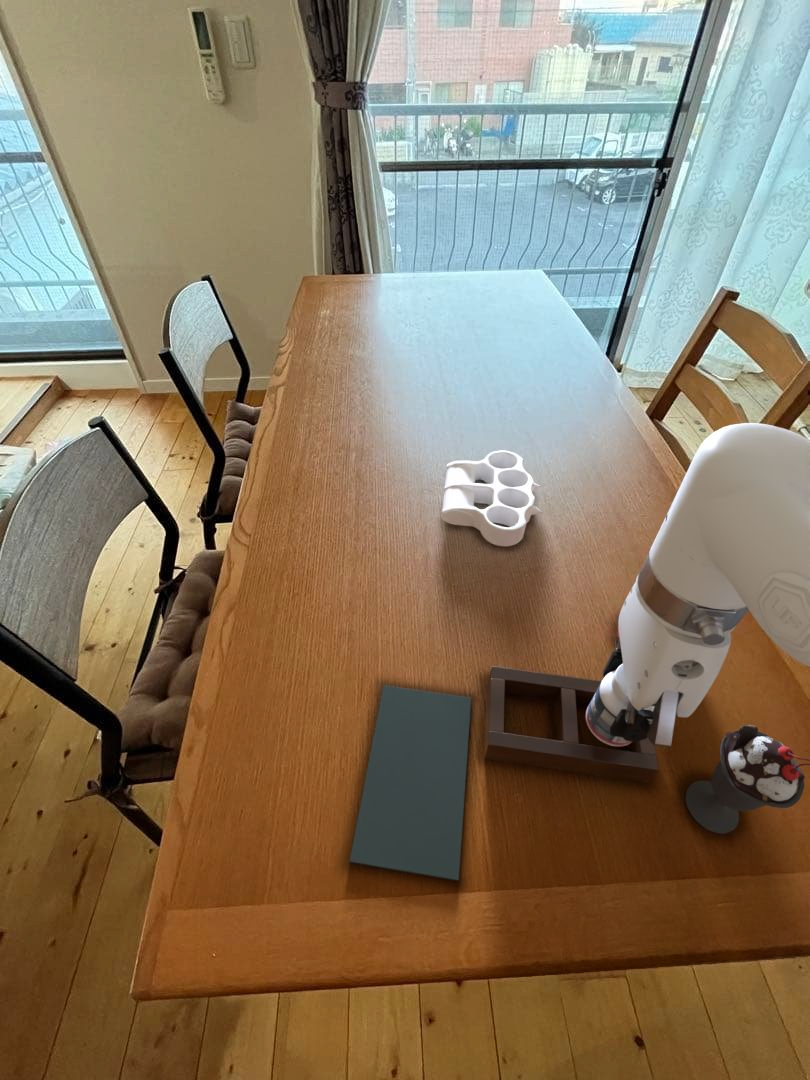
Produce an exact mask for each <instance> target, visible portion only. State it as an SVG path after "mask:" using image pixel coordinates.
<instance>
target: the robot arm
mask: <svg viewBox="0 0 810 1080" xmlns="http://www.w3.org/2000/svg"><path fill="white" fill-rule="evenodd" d="M748 611H749V612H750V614H751V615H752V617H753V618H754V620H755V621H756V623H757V624H758V626H759V627H760V628H761V629H762V631H763V632H764V633H765V634H766V636H767V637H768V638H769V639H770V640H771V641H772V642H773V643H774V644H775V645H776V646H777V647H778V648H779V649H780V650H782V651H783V652H784V653H785V654H787V655H788V657H790V658H792V660H795V661H796V662H798V663H800V664H801V665H804V666H807V667H808V668H810V439H809V438H806V437H805V436H803V435H801V434H798V433H796V432H794V431H792V430H789V429H786V428H784V427H779V426H775V425H771V424H767V423H766V424H765V423H761V422H759V423H758V422H757V423H756V422H743V423H735V424H730V425H726V426H723V427H721V428H719V429H718V430H715V431H713V432H712V433H711V434H710V435H708V436H707V438H705V439H704V440H703V441H702V443H701V444H700V446H699V447H698V449H697V451H696V453H695V454H694V456H693V458H692V459H691V463H690V465H689V467H688V469H687V471H686V472H685V475H684V477H683V479H682V481H681V484H680V486H679V488H678V490H677V492H676V493H675V496H674V498H673V500H672V503H671V504H670V507H669V509H668V511H667V513H666V515H665V517H664V519H663V522H662V523H661V526H660V528H659V530H658V531H657V534H656V536H655V538H654V540H653V542H652V544H651V546H650V548H649V551H648V553H647V555H646V557H645V559H644V561H643V563H642V565H641V568H640V570H639V573H638V574H637V576H636V579H635V582H634V584H633V586H632V587H631V589H630V591H629V593H628V594H627V596H626V598H625V600H624V602H623V605H622V607H621V609H620V613H619V616H618V623H617V624H618V626H617V628H619V637H618V636H617V638H616V639H615V641H614V649H615V650H612V652H611V654H610V656H609V658H608V660H607V662H606V664H605V666H604V668H603V670H602V675H603V678H604V677H605V676H606V675H607V674H609V673H610V672H612V671H615V670H616V669H617V668H618V667H619V666H620V665H621V664H623V666H624V672H625V679H626V685H627V691H628V696H629V703H628V706H627V709H622V710H621V711H620V712H619V714H618V716H617V717H616V719H615V721H614V722H613V724H612V726H611V727H610V734H611V735H612V736H618V737H623V739H624V740H626V741H633V742H637V741H641V740H644V739H646V738H648V739H649V741H650V742H651V743H652V744H653V745H654V746H656V747H663V748H671V746H672V741H673V736H674V729H675V723H676V717H677V718H689V717H690V716H691V715H692V714H694V712H695V711H696V710H697V708H698V707H699V706H700V704H701V703H702V701H703V700H704V698H705V697H706V696H707V694H708V692H709V691H710V689H711V688H712V686H713V684H714V682H715V681H716V679H717V677H718V675H719V673H720V671H721V670H722V667H723V665H724V662H725V660H726V658H727V656H728V653H729V650H730V647H731V644H732V634H731V632H733V631H734V630H735V629H736V628H737V626H738V625H739V624H740V623H741V621H742V620H743V618H744V617H745V616H746V614H747V613H748ZM649 706H655V707H654V710H653V712H652V711H651V710H644V709H643V707H646V708H647V707H649Z"/></svg>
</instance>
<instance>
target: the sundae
mask: <svg viewBox="0 0 810 1080" xmlns="http://www.w3.org/2000/svg"><path fill="white" fill-rule="evenodd" d="M719 750H720V753H719V755H720V759H719V761H718V763H717V764H716V766H715V768H714V770H713V773H712V775H711V780H710V781H709V780H697V781H695V782H693V783H691V784H690V785H689V786H688V788H687V790H686V792H685V803H686V807H687V809H688V811H689V814H690V815H691V816H692V818H693V819H694V820H695V821H696V823H698V825H700V826H701V827H703V828H704V829H706V830H707V831H710V832H712V833H716V834H729V833H731V832H732V831H734V830H735V829H736V828H737V826H738V824H739V821H740V814H739V812H748V811H755V810H757V809H759V808H762V807H764V806H768V807H771V808H778V809H788V808H791V807H793V806H794V805H796V804H797V803H798V802H799V801H800V799H801V797H802V795H803V793H804V790H805V778H806V777H805V774H804V773H803V771H802V769H801V767H803V766H810V758H804V757H803V758H802V757H799V756H797V755H795V753H794V751H793V749H792V748H791V747H790V746H785V745H784V743H782V742H780V741H778V740H776V739H774V738H772V737H771V736H769V735H768V734H766V733H764V732H761V731H759V727H758V726H757V725H754V724H753V725H752V724H746V725H745V724H742V725H740V727H739V730H738V729H736V730H734V731H727V732H726V733H725V736H724V737H723V738H722V740H721V743H720V747H719ZM794 758H795V759H798V760H801V761H808V762H809V763H807V762H805V763H804V762H803V763H799V764H798V762H797V761H796V760H795V759H794Z"/></svg>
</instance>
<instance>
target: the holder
mask: <svg viewBox="0 0 810 1080" xmlns="http://www.w3.org/2000/svg"><path fill="white" fill-rule="evenodd" d="M601 682H602V680H597V679H589V678H582V677H581V678H580V677H576V676H575V677H574V676H567V675H561V674H553V673H546V672H538V671H531V670H525V669H524V670H523V669H517V668H515V669H514V668H509V667H503V666H502V667H501V666H494V665H492V666H491V668H490V672H489V676H488V680H487V691H486V692H487V693H486V694H487V695H486V707H485V708H486V711H485V713H486V714H485V731H484V748H483V749H484V752H483V758H484V759H485V760H491V761H498V762H506V763H512V764H519V765H524V766H531V767H536V768H537V767H538V768H544V769H552V770H559V771H563V772H564V771H566V772H569V773H570V772H571V773H578V774H585V775H592V776H597V777H603V778H604V777H605V778H610V779H617V780H623V781H631V782H636V783H643V784H647V783H649V782H650V780H651V779H652V778H653V777H654V776H655V775H656V773H657V772H658V771H659V764H658V758H657V753H656V747H655V746H656V745H653V744H652V743H651V742H650V741H649V739H648V738H646V739H644V740H641V741H637V742H631V743H630V744H628V745H626V746H627V750H623V749H617V748H610V747H603V746H596V745H589V744H582V743H580V740H579V728H578V727H579V725H578V711H577V707H583V708H588V706H589V704H590V702H591V700H592V698H593V697H594V695H595V693H596V691H597V689H598V687H599V685H600V683H601ZM505 697H513V698H517V699H518V698H519V699H526V700H533V701H540V702H548V703H553V705H554V728H555V739H549V738H542V737H535V736H528V735H522V734H514V733H509V732H505V727H504V726H505Z"/></svg>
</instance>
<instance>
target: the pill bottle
mask: <svg viewBox="0 0 810 1080" xmlns="http://www.w3.org/2000/svg"><path fill="white" fill-rule="evenodd" d="M601 681H602V682H601V683H600V685H599V687H598V689H597V691H596V693H595V695H594V697H593V698H592V700H591V702H590V704H589V706H588V707H586V710H585V722H586V725H587V727H588V729H589V730H590V732H591V734H592V735H593V736H594V737H595V738H596V739H597V740H598V741H600V742H602V743H603V744H606V745H608V746H611V747H625V746H627V745H628V744H630V743H631V742H633V741H626V740H624V739H623V737H618V736H612V735H611V734H610V727H611V726H612V724H613V722H614V721H615V719H616V717H617V716H618V714H619V712H620V711H621V710H622V709H627V706H628V703H629V696H628V691H627V685H626V679H625V672H624V666H623V664H621V665H620V666H619V667H618V668H617V669H616V670H615V671H612V672H610V673H609V674H607V675H606V676H605V677H604V676H603V679H602V680H601ZM654 707H655V706H649V707H647V708H646V707H643V709H644V710H651V711H652V712H653V710H654Z"/></svg>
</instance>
